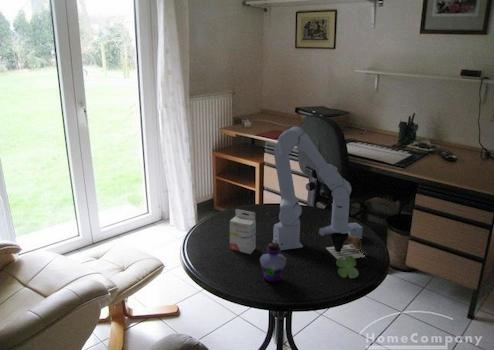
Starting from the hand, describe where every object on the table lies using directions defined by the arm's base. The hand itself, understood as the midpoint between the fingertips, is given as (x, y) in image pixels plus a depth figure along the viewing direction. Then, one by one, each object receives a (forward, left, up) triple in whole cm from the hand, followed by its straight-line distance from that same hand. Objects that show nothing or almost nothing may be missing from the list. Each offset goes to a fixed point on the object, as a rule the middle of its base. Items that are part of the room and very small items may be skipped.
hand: (337, 250), depth 147 cm
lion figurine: (+4, 0, 0) cm, 4 cm away
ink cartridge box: (-32, +12, -1) cm, 34 cm away
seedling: (-2, -10, -1) cm, 10 cm away
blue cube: (+12, +10, -1) cm, 16 cm away
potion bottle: (-28, -10, -1) cm, 30 cm away
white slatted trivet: (+4, 0, -1) cm, 4 cm away
